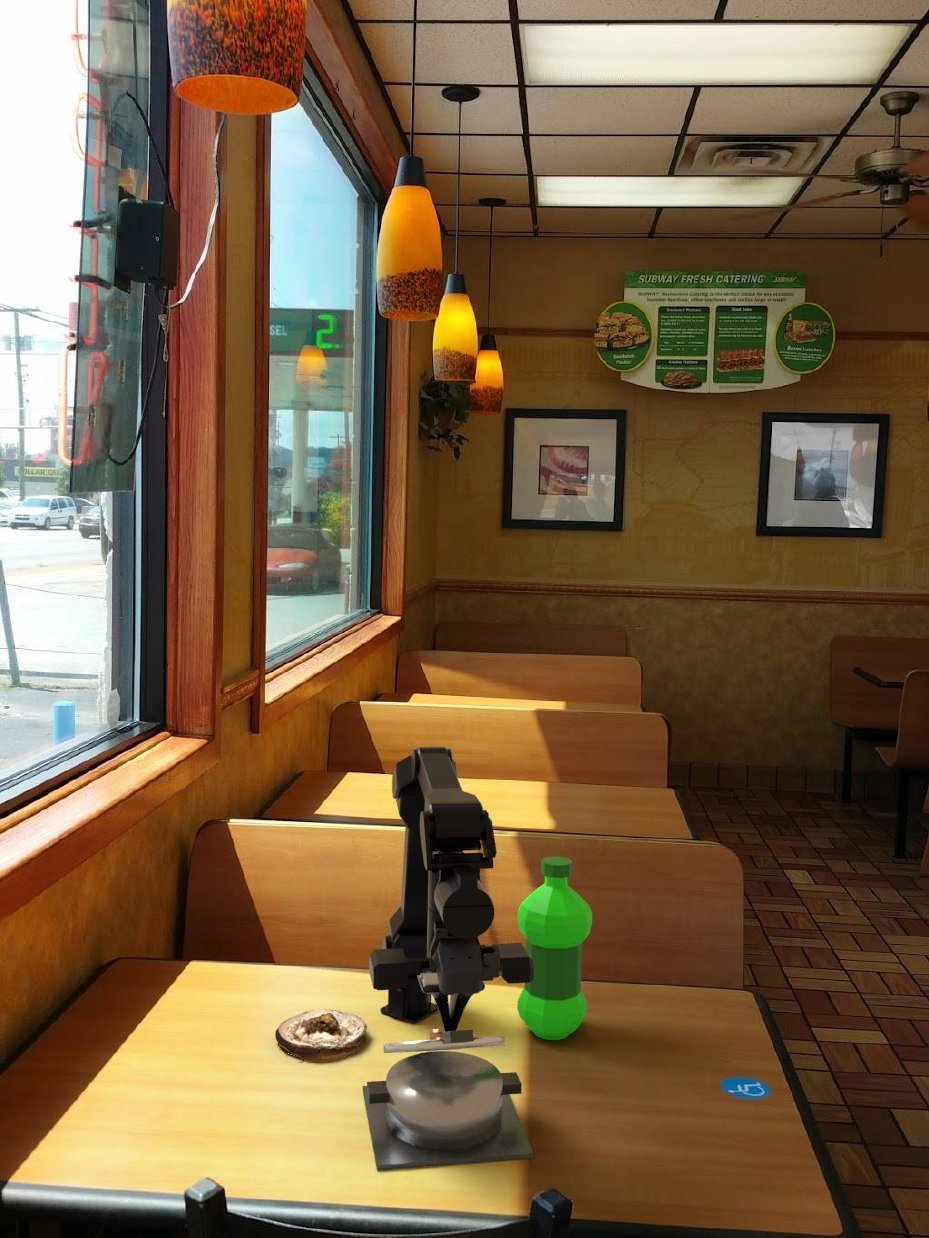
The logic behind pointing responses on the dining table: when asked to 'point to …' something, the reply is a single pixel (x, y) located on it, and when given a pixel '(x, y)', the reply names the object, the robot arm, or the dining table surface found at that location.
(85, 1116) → the dining table surface
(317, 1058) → the bowl of rice
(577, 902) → the plastic bottle
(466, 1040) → the cooker lid
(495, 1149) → the cooker pot
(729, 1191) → the dining table surface
